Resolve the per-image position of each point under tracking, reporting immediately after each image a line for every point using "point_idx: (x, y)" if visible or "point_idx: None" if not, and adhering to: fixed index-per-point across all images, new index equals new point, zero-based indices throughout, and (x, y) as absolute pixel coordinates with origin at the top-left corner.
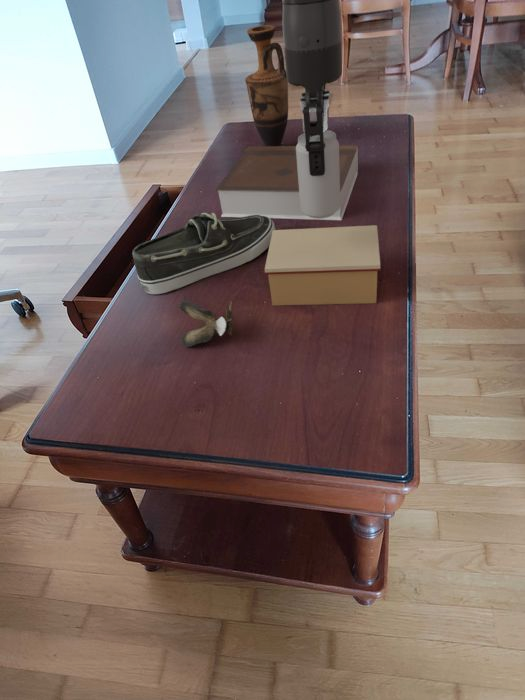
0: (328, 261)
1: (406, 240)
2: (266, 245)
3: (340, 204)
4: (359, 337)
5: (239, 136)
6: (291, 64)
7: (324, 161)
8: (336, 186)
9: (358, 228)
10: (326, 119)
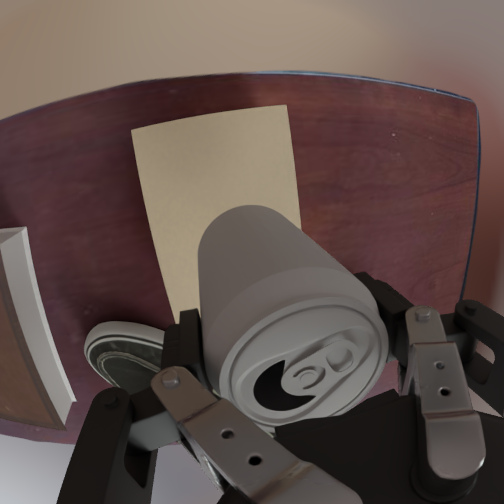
0: (281, 202)
1: (71, 98)
2: (141, 327)
3: (7, 237)
4: (340, 136)
5: None
6: None
7: (382, 288)
8: (290, 225)
9: (148, 166)
10: (460, 374)
